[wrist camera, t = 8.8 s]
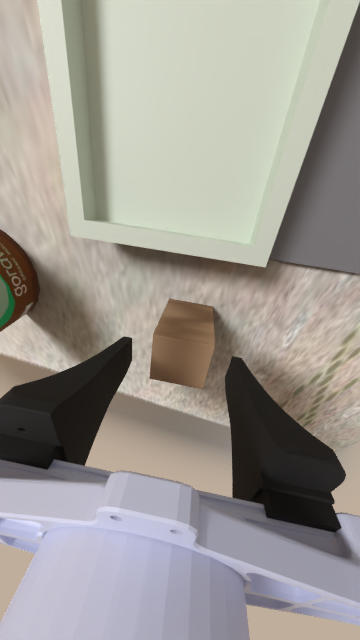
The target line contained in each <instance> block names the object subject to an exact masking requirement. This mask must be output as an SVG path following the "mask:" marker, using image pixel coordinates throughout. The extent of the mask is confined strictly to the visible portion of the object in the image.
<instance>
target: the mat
mask: <svg viewBox="0 0 360 640" xmlns="http://www.w3.org/2000/svg"><path fill="white" fill-rule="evenodd" d="M269 259H271V260H277V261H283V262H290V263H296V264H302V265H308V266H315V267H321V268H327V269H333V270H340V271H346V272H352V273H358V274H360V2H359V5H358V8H357V11H356V13H355V16H354V19H353V22H352V25H351V27H350V30H349V33H348V36H347V39H346V42H345V44H344V47H343V50H342V53H341V56H340V59H339V61H338V64H337V67H336V70H335V73H334V75H333V78H332V81H331V84H330V87H329V90H328V92H327V95H326V98H325V101H324V104H323V106H322V109H321V112H320V115H319V118H318V121H317V123H316V126H315V129H314V132H313V135H312V138H311V140H310V143H309V146H308V149H307V152H306V154H305V157H304V160H303V163H302V166H301V169H300V171H299V174H298V177H297V180H296V183H295V185H294V188H293V191H292V194H291V197H290V200H289V202H288V205H287V208H286V211H285V214H284V217H283V219H282V222H281V225H280V228H279V231H278V233H277V236H276V239H275V242H274V245H273V248H272V250H271V253H270V256H269Z"/></svg>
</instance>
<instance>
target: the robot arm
mask: <svg viewBox="0 0 360 640" xmlns="http://www.w3.org/2000/svg"><path fill="white" fill-rule="evenodd" d="M131 361H132V338H129V337H122V338H121V339H119V340H118V341H117V342H115V343H114V344H112V345H111V346H109V347H108V348H106V349H105V350H103V351H102V352H100V353H98V354H97V355H95V356H93V357H92V358H90V359H88V360H86V361H84V362H82V363H80V364H78V365H76V366H74V367H72V368H69V369H67V370H65V371H62V372H60V373H57V374H55V375H52V376H49V377H46V378H43V379H40V380H36V381H33V382H29V383H25V384H22V385H19V386H14V387H13V388H12V389H11V390H10V391H8V392H7V393H6V394H5V395H4V396H3V397H2V398H1V399H0V543H1V544H5V545H8V546H11V547H14V548H17V549H21V550H24V551H27V552H30V553H34V554H35V556H34V557H33V560H32V561H31V563H30V565H29V567H28V569H27V571H26V573H25V575H24V577H23V579H22V581H21V583H20V585H19V587H18V589H17V591H16V593H15V595H14V597H13V599H12V601H11V603H10V605H9V607H8V609H7V610H6V612H5V614H4V616H3V618H2V621H1V622H0V640H250V638H249V629H248V619H247V609H246V605H251V606H257V607H263V608H268V609H274V610H280V611H286V612H291V613H297V614H303V615H309V616H314V617H319V618H325V619H330V620H335V621H340V622H344V623H349V624H354V625H359V626H360V516H357V515H352V514H348V513H335V511H334V509H333V506H332V504H334V499H333V497H332V494H331V492H332V491H333V490H334V489H335V488H337V487H338V486H339V485H340V484H341V483H342V482H343V481H344V479H345V476H346V474H345V471H344V469H343V467H342V466H341V463H340V462H339V460H338V458H337V456H336V454H335V453H334V451H333V450H332V449H331V448H329V447H328V446H327V445H325V444H324V443H323V442H321V441H320V440H318V439H317V438H316V437H314V436H313V435H312V434H310V433H309V432H308V431H307V430H305V429H304V428H303V427H302V426H301V425H299V424H298V423H297V422H296V421H295V420H294V419H292V418H291V417H290V416H289V415H288V414H287V413H286V412H285V411H284V410H283V409H282V408H281V407H280V406H279V405H278V404H277V403H276V402H275V401H274V400H273V399H272V398H271V397H270V396H269V395H268V393H267V392H266V391H265V390H264V389H263V387H262V386H261V385H260V384H259V382H258V381H257V380H256V378H255V377H254V376H253V374H252V373H251V371H250V370H249V369H248V367H247V366H246V364H245V363H244V361H243V360H242V358H238V357H233V356H232V359H231V362H230V365H229V368H228V371H227V374H226V377H225V391H226V398H227V405H228V412H229V418H230V426H231V440H232V471H233V472H232V473H233V474H232V475H233V498H231V497H226V496H222V495H217V494H212V493H208V492H203V491H199V490H195V489H194V488H193V487H191V486H190V485H187V484H184V483H181V482H178V481H172V480H168V479H164V478H159V477H154V476H150V475H145V474H140V473H135V472H131V471H117V472H110V471H106V470H101V469H97V468H92V467H87V466H85V463H86V460H87V458H88V455H89V452H90V450H91V447H92V445H93V442H94V439H95V437H96V434H97V432H98V430H99V427H100V425H101V422H102V420H103V418H104V415H105V413H106V411H107V408H108V406H109V404H110V402H111V400H112V398H113V396H114V395H115V393H116V391H117V389H118V388H119V386H120V384H121V382H122V380H123V379H124V377H125V375H126V373H127V371H128V369H129V366H130V364H131Z"/></svg>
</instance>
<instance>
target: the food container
mask: <svg viewBox="0 0 360 640" xmlns="http://www.w3.org/2000/svg"><path fill="white" fill-rule="evenodd" d="M39 290H40V287H39V283H38V278H37V273H36V271H35V269H34V267H33V265H32V263H31V261H30V259H29V258H28V256H27V255H26V253H25V252H24V251H23V250H22V248H21V247H20V246H19V245H18V244H17V243H16V242H15V241H14V240H13V239H12V238H11V237H10V236H8V235H7V234H6V233H5V232H3V231H2V230H0V332H1V331H2V330H3V329H5V328H6V327H8V326H9V325H11V324H12V323H14V322H15V321H16V320H18V319H19V318H21V317H22V316H24V315H25V314H26V313H28V312H29V311H31V310H32V309H33V307H34V306H35V304H36V303H37V301H38V297H39Z"/></svg>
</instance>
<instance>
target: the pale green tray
mask: <svg viewBox="0 0 360 640" xmlns="http://www.w3.org/2000/svg"><path fill="white" fill-rule="evenodd" d="M37 2H38V9H39V16H40V23H41V30H42V37H43V44H44V51H45V58H46V65H47V72H48V79H49V86H50V93H51V101H52V108H53V115H54V122H55V129H56V136H57V143H58V150H59V157H60V164H61V171H62V178H63V185H64V192H65V199H66V207H67V214H68V221H69V228H70V235H71V236H76V237H82V238H88V239H94V240H100V241H106V242H112V243H119V244H125V245H131V246H137V247H143V248H149V249H155V250H162V251H168V252H174V253H180V254H186V255H192V256H198V257H205V258H211V259H217V260H223V261H229V262H235V263H241V264H248V265H254V266H260V267H266V265H267V262H268V259H269V256H270V253H271V250H272V248H273V245H274V242H275V239H276V236H277V233H278V231H279V228H280V225H281V222H282V219H283V217H284V214H285V211H286V208H287V205H288V202H289V200H290V197H291V194H292V191H293V188H294V185H295V183H296V180H297V177H298V174H299V171H300V169H301V166H302V163H303V160H304V157H305V154H306V152H307V149H308V146H309V143H310V140H311V138H312V135H313V132H314V129H315V126H316V123H317V121H318V118H319V115H320V112H321V109H322V106H323V104H324V101H325V98H326V95H327V92H328V90H329V87H330V84H331V81H332V78H333V75H334V73H335V70H336V67H337V64H338V61H339V59H340V56H341V53H342V50H343V47H344V44H345V42H346V39H347V36H348V33H349V30H350V27H351V25H352V22H353V19H354V16H355V13H356V11H357V8H358V5H359V2H360V0H37Z"/></svg>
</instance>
